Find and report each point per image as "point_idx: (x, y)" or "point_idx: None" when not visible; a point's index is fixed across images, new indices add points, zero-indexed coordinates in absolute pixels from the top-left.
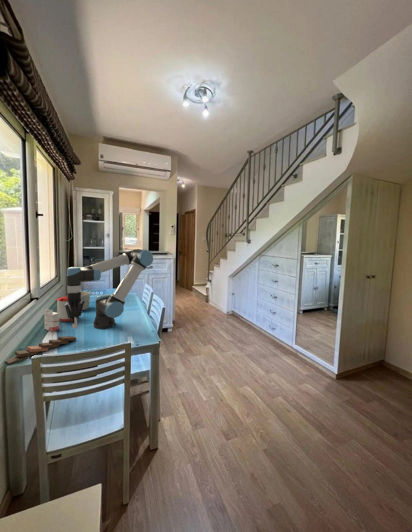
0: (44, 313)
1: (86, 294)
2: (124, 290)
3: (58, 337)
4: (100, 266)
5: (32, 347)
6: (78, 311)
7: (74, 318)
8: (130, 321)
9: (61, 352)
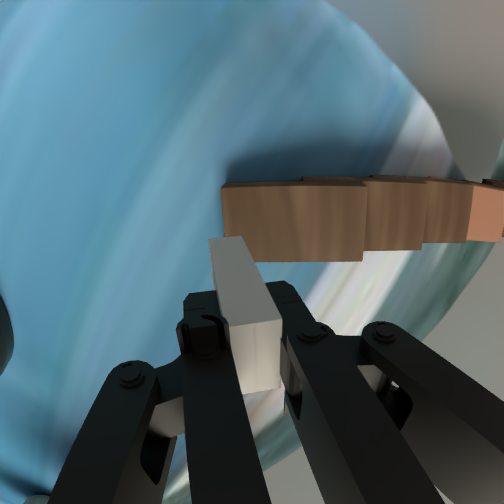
0: None
1: None
2: None
3: (361, 253)
4: None
5: (493, 217)
6: (191, 482)
7: (277, 339)
8: None
9: (403, 77)
